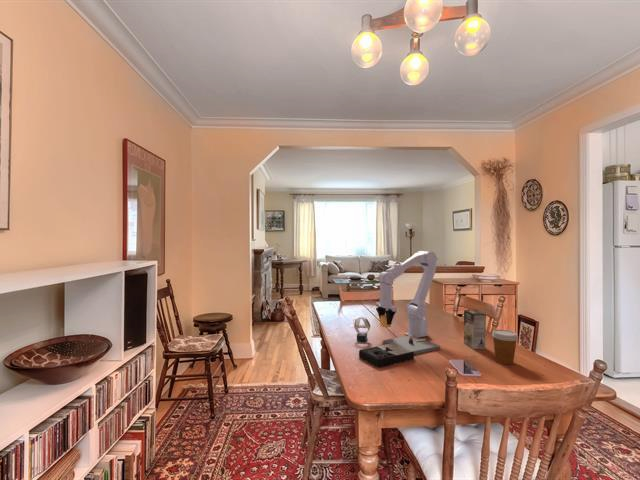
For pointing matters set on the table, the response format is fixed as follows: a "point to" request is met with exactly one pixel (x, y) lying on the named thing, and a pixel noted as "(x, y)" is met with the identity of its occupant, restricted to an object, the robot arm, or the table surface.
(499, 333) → the disposable coffee cup
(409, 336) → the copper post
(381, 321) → the orange cap
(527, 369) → the table surface
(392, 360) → the multimeter
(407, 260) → the robot arm
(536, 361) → the table surface
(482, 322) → the coffee box
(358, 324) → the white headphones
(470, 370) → the mobile phone
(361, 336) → the watch
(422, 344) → the board
